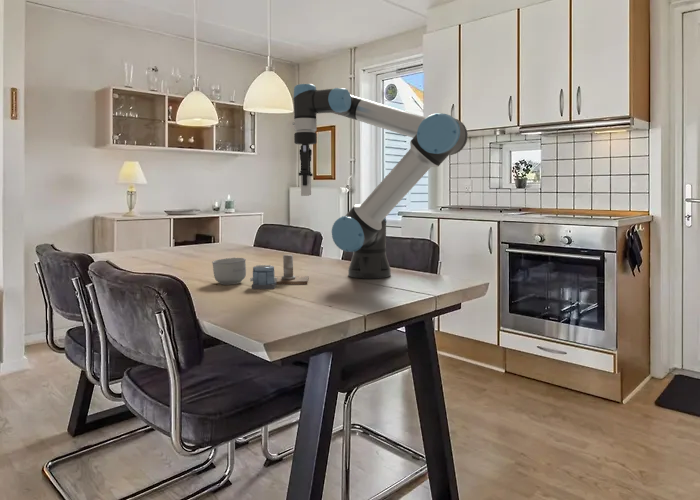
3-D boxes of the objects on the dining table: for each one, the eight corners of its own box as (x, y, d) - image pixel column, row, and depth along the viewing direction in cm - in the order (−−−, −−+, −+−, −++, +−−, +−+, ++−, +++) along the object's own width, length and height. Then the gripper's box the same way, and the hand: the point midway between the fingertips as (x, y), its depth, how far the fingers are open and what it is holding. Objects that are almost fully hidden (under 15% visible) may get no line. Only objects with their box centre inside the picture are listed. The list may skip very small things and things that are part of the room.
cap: (278, 281, 174) (277, 263, 174) (276, 284, 168) (275, 266, 167) (252, 281, 174) (251, 263, 173) (249, 285, 167) (248, 266, 167)
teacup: (238, 286, 171) (237, 262, 170) (207, 285, 173) (206, 261, 172) (254, 279, 185) (254, 256, 184) (225, 278, 187) (224, 255, 186)
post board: (308, 279, 185) (308, 253, 184) (307, 284, 175) (306, 257, 174) (270, 279, 184) (270, 253, 183) (267, 284, 175) (266, 257, 174)
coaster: (276, 284, 175) (276, 281, 175) (274, 288, 168) (274, 285, 168) (255, 284, 174) (254, 281, 174) (251, 289, 168) (251, 285, 167)
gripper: (296, 135, 193) (297, 194, 196) (291, 128, 168) (292, 196, 171) (317, 135, 193) (318, 194, 196) (315, 128, 168) (316, 196, 171)
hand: (306, 195), depth 183 cm, fingers open, 13 cm apart
